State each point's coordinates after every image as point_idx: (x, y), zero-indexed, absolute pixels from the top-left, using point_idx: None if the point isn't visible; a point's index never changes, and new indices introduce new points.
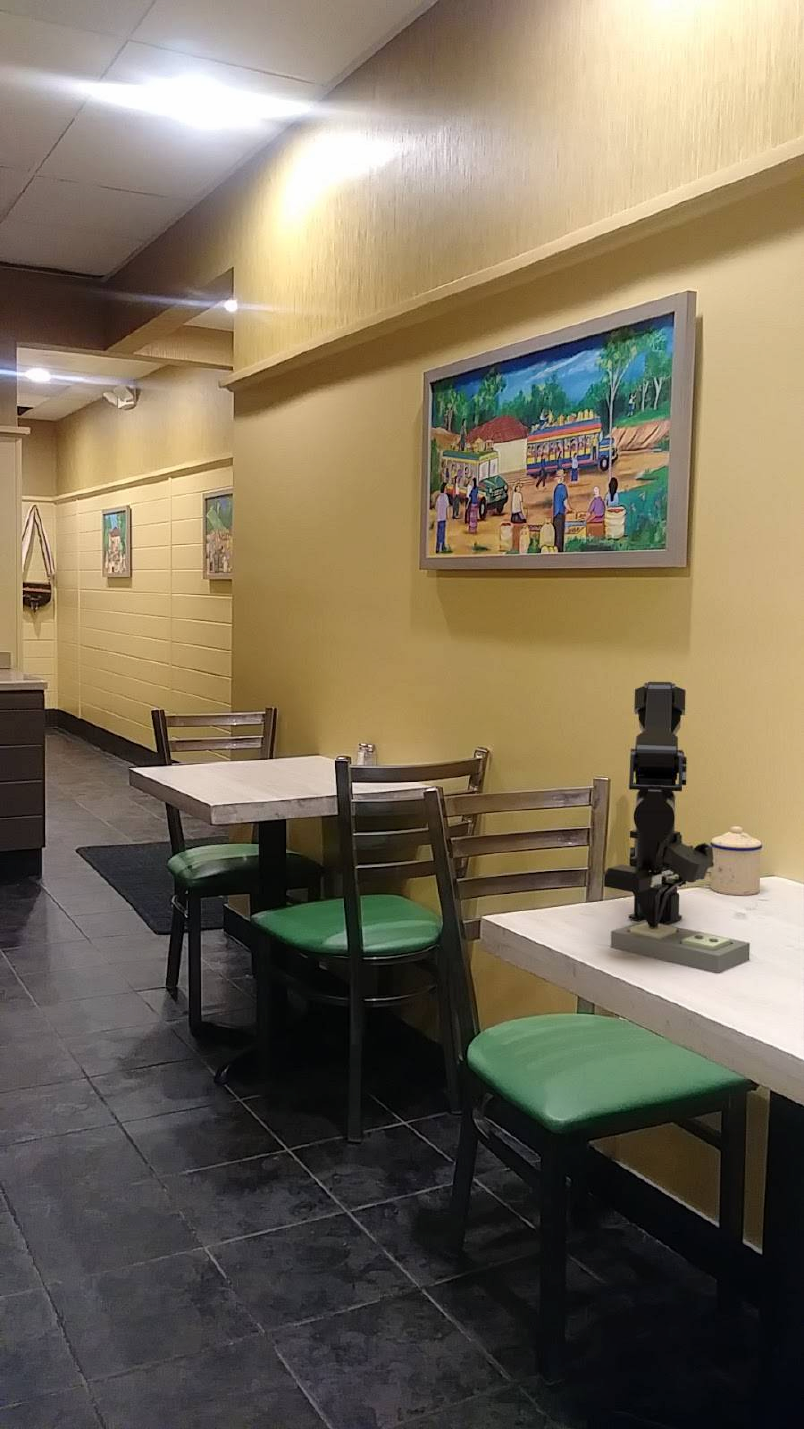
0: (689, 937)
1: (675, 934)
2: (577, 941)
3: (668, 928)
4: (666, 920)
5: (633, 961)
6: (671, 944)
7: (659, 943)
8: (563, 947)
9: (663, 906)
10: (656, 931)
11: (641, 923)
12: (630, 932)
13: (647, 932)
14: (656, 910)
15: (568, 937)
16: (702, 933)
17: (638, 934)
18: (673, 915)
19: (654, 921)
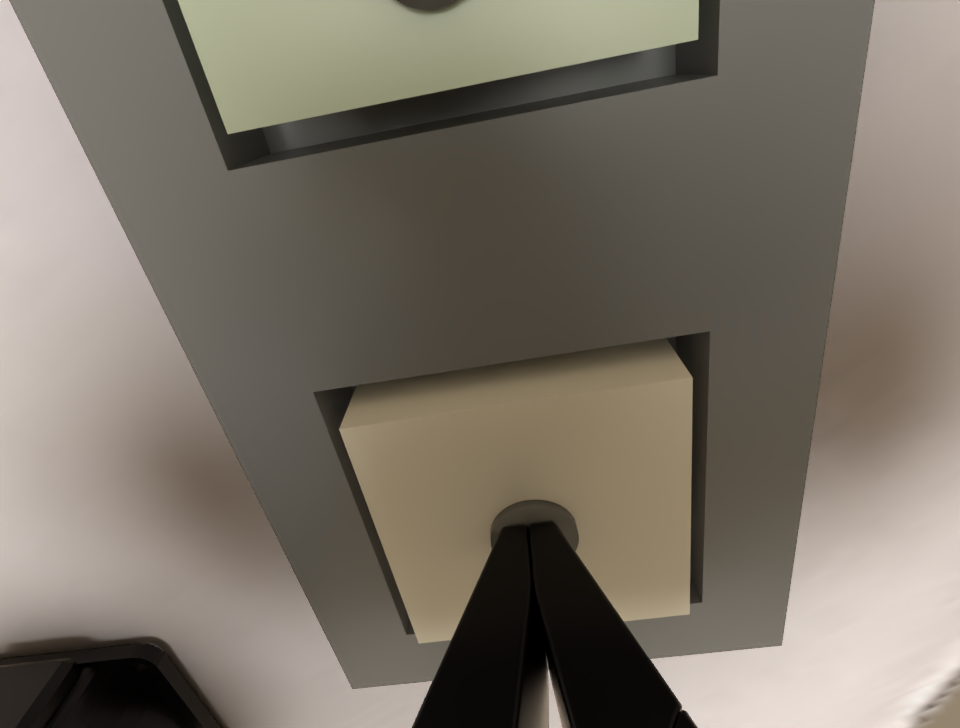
0: (527, 50)
1: (449, 337)
2: (755, 676)
3: (429, 453)
4: (89, 669)
5: (947, 275)
6: (843, 77)
7: (829, 234)
8: (907, 653)
9: (448, 714)
10: (612, 449)
11: (436, 654)
12: (714, 567)
13: (687, 478)
14: (623, 672)
15: (723, 722)
16: (217, 85)
17: (723, 507)
18: (18, 687)
19: (580, 561)
